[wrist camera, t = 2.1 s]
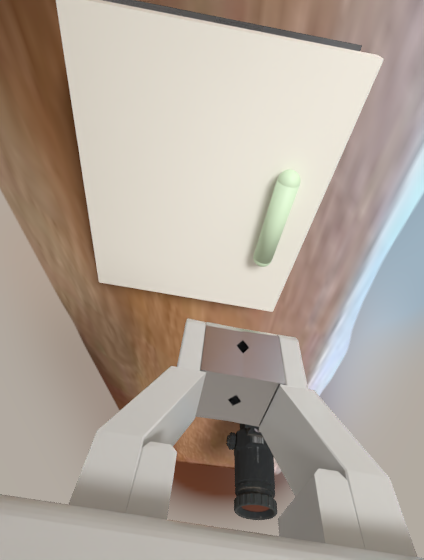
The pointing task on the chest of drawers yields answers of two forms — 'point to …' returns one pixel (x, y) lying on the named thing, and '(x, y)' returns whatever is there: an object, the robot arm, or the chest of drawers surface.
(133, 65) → the panel
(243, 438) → the scope
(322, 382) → the chest of drawers surface
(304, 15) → the chest of drawers surface
